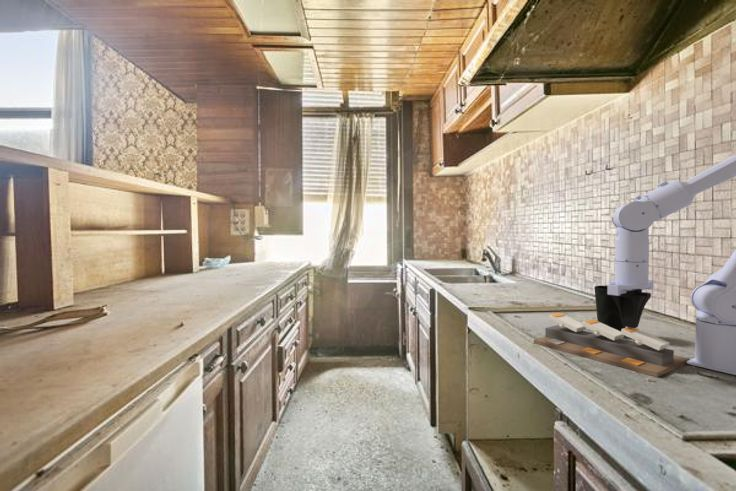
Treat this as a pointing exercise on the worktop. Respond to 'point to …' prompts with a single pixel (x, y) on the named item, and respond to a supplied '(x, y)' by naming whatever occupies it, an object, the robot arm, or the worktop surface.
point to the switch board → (615, 358)
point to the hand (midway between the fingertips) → (630, 326)
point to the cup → (607, 309)
